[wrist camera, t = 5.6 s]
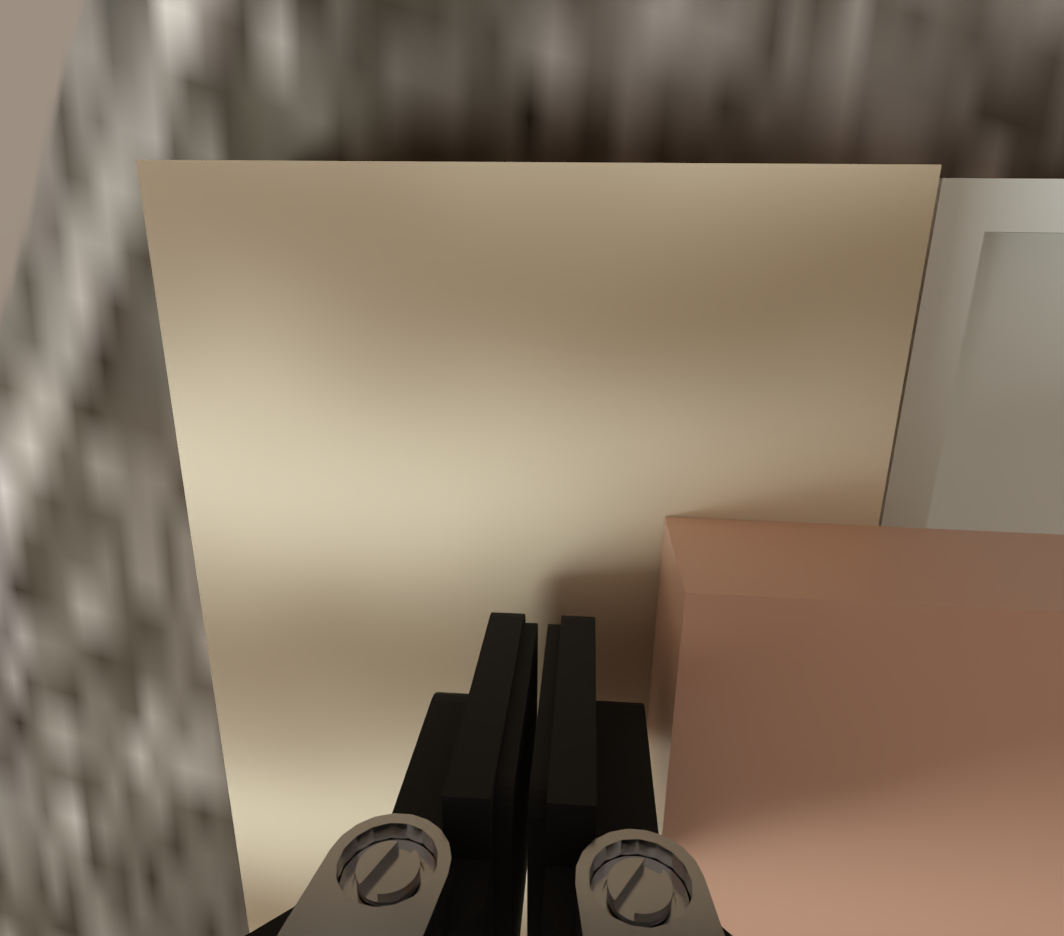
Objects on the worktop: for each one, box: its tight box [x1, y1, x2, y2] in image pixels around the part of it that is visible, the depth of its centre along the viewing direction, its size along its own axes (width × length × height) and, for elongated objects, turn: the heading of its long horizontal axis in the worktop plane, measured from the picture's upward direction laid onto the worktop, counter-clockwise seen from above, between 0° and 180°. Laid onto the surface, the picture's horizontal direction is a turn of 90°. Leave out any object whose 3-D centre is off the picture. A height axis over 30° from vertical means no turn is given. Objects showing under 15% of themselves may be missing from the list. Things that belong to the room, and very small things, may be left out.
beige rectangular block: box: [136, 160, 942, 936], centre depth 14 cm, size 16×11×4 cm
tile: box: [647, 517, 1064, 936], centre depth 11 cm, size 6×6×2 cm
